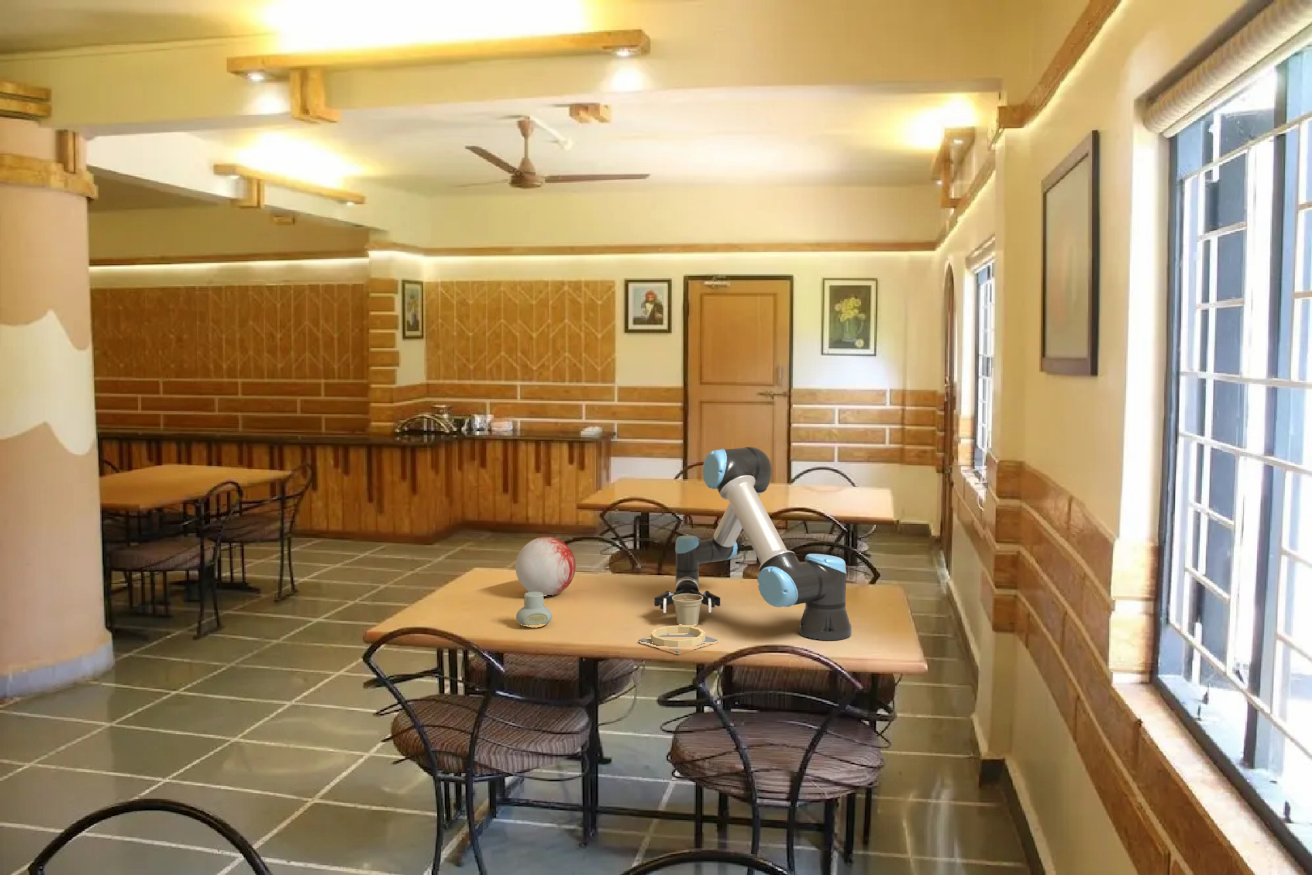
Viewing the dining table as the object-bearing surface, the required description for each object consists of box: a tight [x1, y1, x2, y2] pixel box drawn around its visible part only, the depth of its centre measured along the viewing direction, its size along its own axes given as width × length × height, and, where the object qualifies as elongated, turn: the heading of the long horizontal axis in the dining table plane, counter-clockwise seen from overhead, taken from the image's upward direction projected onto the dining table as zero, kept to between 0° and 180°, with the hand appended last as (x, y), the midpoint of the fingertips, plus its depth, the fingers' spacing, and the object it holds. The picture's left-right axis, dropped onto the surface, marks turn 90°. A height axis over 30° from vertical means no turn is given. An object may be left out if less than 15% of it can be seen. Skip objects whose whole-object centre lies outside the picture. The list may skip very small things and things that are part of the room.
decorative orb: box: [515, 536, 577, 596], centre depth 351 cm, size 21×20×20 cm
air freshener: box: [515, 591, 553, 626], centre depth 315 cm, size 11×8×10 cm
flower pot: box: [672, 594, 703, 625], centre depth 314 cm, size 9×9×9 cm
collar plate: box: [638, 625, 718, 653], centre depth 296 cm, size 16×16×3 cm
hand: (687, 608), depth 311 cm, fingers open, 13 cm apart
